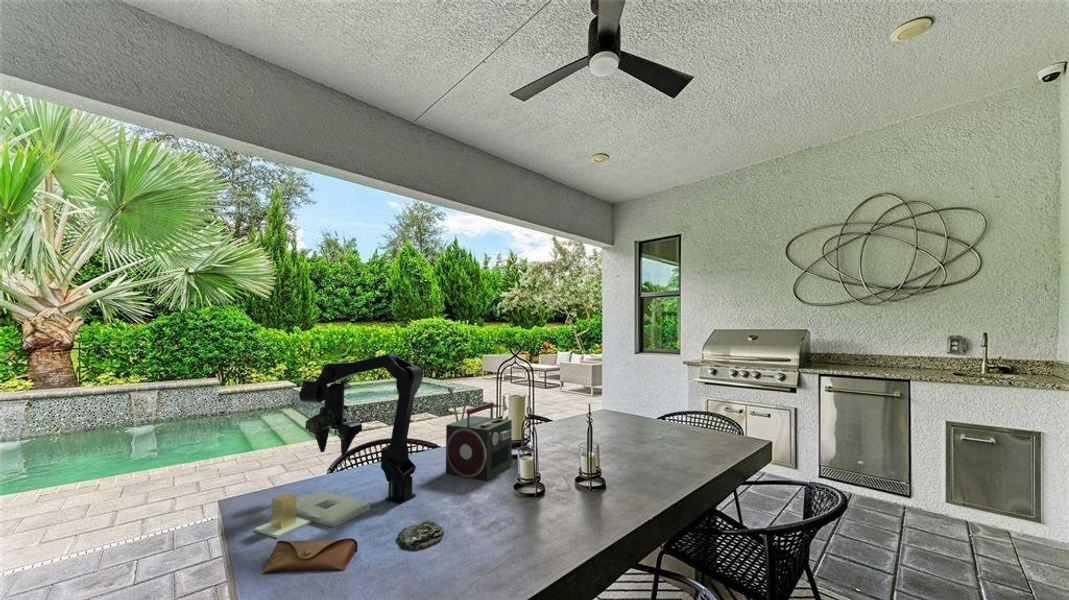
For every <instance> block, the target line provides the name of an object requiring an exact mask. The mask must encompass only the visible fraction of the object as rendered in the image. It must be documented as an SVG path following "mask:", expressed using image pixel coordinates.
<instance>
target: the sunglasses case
mask: <svg viewBox="0 0 1069 600" xmlns="http://www.w3.org/2000/svg"><path fill="white" fill-rule="evenodd" d="M358 547H359V546H358V542H357V540H356V539H355V538H352V537H351V538H347V537H346V538H341V539H310V540H292V541H291V540H290V541H289V540H278V541H277V542H276V544H275V546H274V549H273V551H272V553H271V554H270V556H269V559H268V560H267V563H266V564H265V566H264V569H263V571H261V572H260V575H265V574H266V575H267V574H269V575H270V574H278V573H291V572H293V573H295V572H313V571H316V572H317V571H335V572H336V571H344V570H346V569H347V566H348V565H349V563H350V562H351V561H352V559H353V558H354V556H355V554H356V553H358V549H359V548H358Z"/></svg>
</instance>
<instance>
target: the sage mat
mask: <svg viewBox="0 0 1069 600" xmlns="http://www.w3.org/2000/svg"><path fill="white" fill-rule="evenodd" d="M311 523H312V521H310V520H307V519H303V518H300V517H296V523H294V524H292V525H290V526H287V527H285V528H283V529H279V528H275V527H272V526H271V521H268V522H266V523H264V524H261V525H260V526H256V527H255V528H254V531H255V532H257V533H261V534H264V535H267V536H269V537H273V538H276V539H279V538H282V537H284V536H286V535H288V534H290V533H293V532H294V531H296V530H298V529H299V530H300V529H301V528H303V527H305V526H308V525H310V524H311Z"/></svg>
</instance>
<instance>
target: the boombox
mask: <svg viewBox="0 0 1069 600" xmlns="http://www.w3.org/2000/svg"><path fill="white" fill-rule="evenodd" d="M447 391H448V392H449V394H450V397H451V402H452V407H453V411H454V415H455V420H456V421H453V422H451V423H449V424H446V426H445V433H446V434H445V442H446V443H445V475H449V476H454V477H461V478H466V479H472V480H478V481H482V482H489V481H491V480H492V479H494V478H495V477H498V476H499V475H500V474H502V473H503V472H505V471H507V470H509V469H510V468H512V465H513V463H512V460H513V459H512V458H513V457H512V453H513V449H512V446H513V443H512V442H513V440H512V438H513V430H512V429H513V427H512V426H513V425H512V424H513V421H512V419H508V418H507V419H505V418H497V417H496V418H495V417H494V402H493V401H490V402H486V403H484V404H479V405H477V406H474V407H470V408H467V403H468V398H469V397H470V395H471V392H470V391H465V392H464V396H465V398H464V404H463V408H462V413H461V418H460V420H459V417H458V412H457V406H456V402H455V398H454V393H453V392H454V387H453V386H449V387H448V388H447ZM466 408H467V409H466ZM487 409H490V411H489V412H490V413H489V415H490V417H489V416H478V415H472V414H476V413H478V412H482V411H485V410H487ZM465 413H466V418H464V417H465ZM471 415H472V416H471Z"/></svg>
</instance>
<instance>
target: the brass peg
mask: <svg viewBox="0 0 1069 600" xmlns="http://www.w3.org/2000/svg"><path fill="white" fill-rule="evenodd" d="M296 500H298V497H297V495H296V494H293V493H290V492H285V493H282V494H279V495H276V496H274V497H271V509H270V510H271V513H270V514H271V515H270V516H271V517H270V522H271V526H272V527H275V528H279V529H283V528H285V527H287V526H290V525H292V524H294V523H296Z"/></svg>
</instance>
